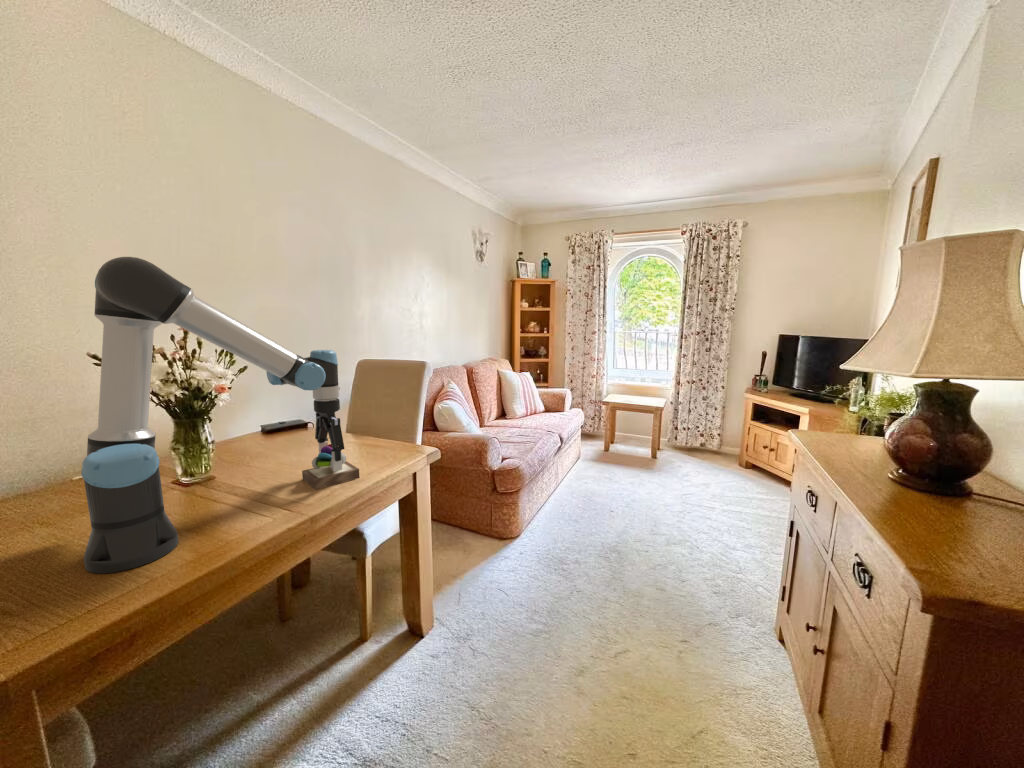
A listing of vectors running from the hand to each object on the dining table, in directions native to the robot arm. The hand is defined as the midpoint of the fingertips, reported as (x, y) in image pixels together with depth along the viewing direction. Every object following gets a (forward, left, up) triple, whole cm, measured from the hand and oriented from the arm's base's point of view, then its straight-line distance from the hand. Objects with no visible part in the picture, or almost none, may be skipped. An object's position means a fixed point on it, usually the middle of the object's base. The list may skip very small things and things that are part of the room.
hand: (330, 465), depth 132 cm
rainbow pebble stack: (0, 0, -1) cm, 1 cm away
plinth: (0, 0, -4) cm, 4 cm away
